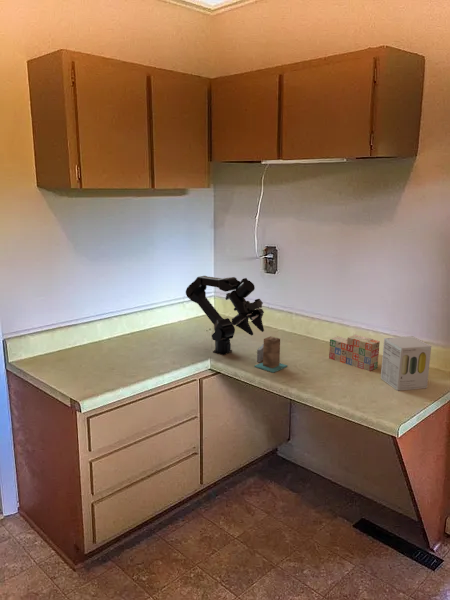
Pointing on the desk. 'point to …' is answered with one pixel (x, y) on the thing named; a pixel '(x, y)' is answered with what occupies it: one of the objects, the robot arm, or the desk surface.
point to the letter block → (271, 352)
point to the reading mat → (271, 368)
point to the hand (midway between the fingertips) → (258, 333)
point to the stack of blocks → (355, 351)
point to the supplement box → (405, 363)
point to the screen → (260, 354)
